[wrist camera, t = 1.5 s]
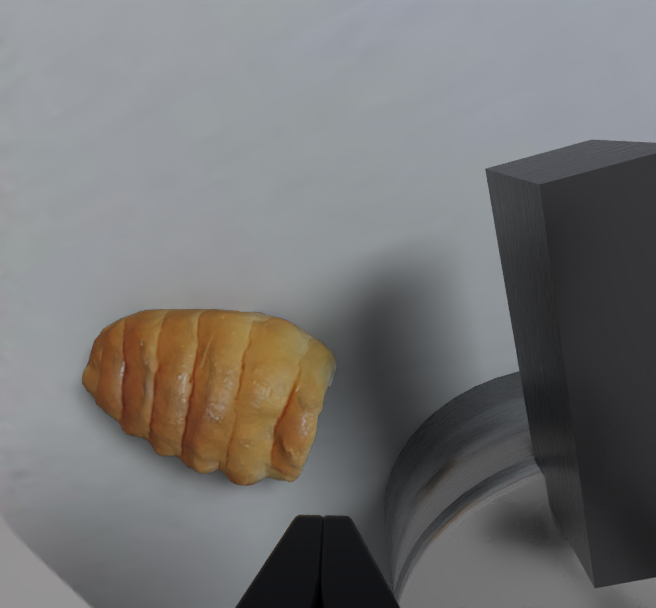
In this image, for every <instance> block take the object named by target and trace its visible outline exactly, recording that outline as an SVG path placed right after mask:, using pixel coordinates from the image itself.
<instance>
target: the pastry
mask: <svg viewBox="0 0 656 608" xmlns="http://www.w3.org/2000/svg"><path fill="white" fill-rule="evenodd" d="M335 372H336V360H335V356H334V355H333V353H332V352H331V351H330V350H329V349H328V348H327V347H326V346H325V345H324V344H323V343H321V342H320V341H319V340H317V339H316V338H314V337H313V336H311V335H310V334H308V333H307V332H305V331H303V330H302V329H300V328H299V327H297V326H296V325H294V324H292V323H291V322H289V321H287V320H284V319H281V318H278V317H273V316H270V315H266V314H263V313H259V312H239V311H233V310H218V309H156V310H145V311H141V312H137V313H135V314H132V315H130V316H127V317H124V318H121V319H119V320H117V321H116V322H114V323H112V324H110V325H108V326H107V327H105V328H104V329H103V330H102V331H101V333H100V335H99V336H98V337H97V338H96V339H95V341H94V344H93V347H92V350H91V354H90V359H89V362H88V364H87V366H86V368H85V369H84V373H83V377H82V384H83V385H84V386H85V388H86V389H87V391H88V392H90V393H91V394H92V396H93V397H94V398H95V401H96V404H97V405H98V406H99V407H101V408H102V409H103V410H104V411H105V412H107V413H108V414H109V415H110V416H112V417H113V418H114V419H115V420H117V421H118V422H119V423H120V424H121V426H122V430H124V431H125V433H126V434H129V435H132V436H137V437H142V438H144V439H147V440H148V441H149V442H150V443H151V445H152V446H153V448H154V449H155V451H156V452H157V453H158V454H159V455H162V456H176V457H178V458H180V459H181V460H182V461H183V462H184V463H185V464H186V465H187V466H188V467H190V468H192V469H194V470H195V471H196V472H198V473H210V472H213V471H215V470H221V471H223V472H224V473H225V474H226V476H227V477H228V479H229V480H230V481H231V482H233V483H235V484H237V485H246V486H247V485H252V484H255V483H257V482H259V481H261V480H262V479H264V478H266V477H268V478H273V479H276V480H286V481H288V482H292V481H294V480H296V479H297V478H298V477H299V475H300V474H301V472H302V469H303V466H304V464H305V462H306V460H307V458H308V455H309V452H310V449H311V447H312V445H313V443H314V440H315V437H316V433H317V423H318V416H319V414H320V413H321V411H322V409H323V403H324V397H325V394H326V391H327V390H328V388H329V387H330V386H331V385H332V382H333V378H334V374H335Z"/></svg>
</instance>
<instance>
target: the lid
mask: <svg viewBox="0 0 656 608" xmlns="http://www.w3.org/2000/svg"><path fill="white" fill-rule="evenodd" d="M485 170H486V176H487V182H488V187H489V193H490V199H491V205H492V211H493V217H494V223H495V229H496V235H497V241H498V247H499V252H500V258H501V264H502V270H503V276H504V282H505V288H506V294H507V300H508V306H509V311H510V317H511V323H512V329H513V335H514V341H515V347H516V353H517V359H518V365H519V371H520V376H521V382H522V388H523V394H524V400H525V406H526V412H527V418H528V424H529V430H530V435H531V441H532V447H533V453H534V456H533V457H530V458H528V459H525V460H523V461H520V462H517V463H515V464H513V465H511V466H509V467H507V468H505V469H503V470H501V471H499V472H497V473H495V474H493V475H491V476H489V477H487V478H486V479H484V480H483V481H481V482H480V483H478V484H477V485H475V486H474V487H472V488H471V489H469V490H468V491H466V492H465V493H463V494H462V495H461V496H460V497H458V498H457V499H456V500H455V501H454V502H453V503H451V504H450V505H449V506H448V507H447V508H445V509H444V510H443V511H442V512H441V513H440V514H439V515H438V516H437V517H436V519H435V520H434V521H433V522H432V523H431V524H430V525H429V526H428V527H427V528H426V529H425V530H424V532H423V533H422V535H421V536H420V538H419V539H418V541H417V542H416V543H415V545H414V546H413V548H412V549H411V551H410V553H409V555H408V557H407V559H406V561H405V563H404V565H403V567H402V569H401V571H400V574H399V577H398V581H397V584H396V587H395V590H394V597H395V599H396V601H397V603H398V604H399V606H400V608H656V143H648V142H628V141H608V140H589V141H585V142H581V143H578V144H574V145H571V146H567V147H563V148H560V149H556V150H552V151H549V152H545V153H541V154H538V155H534V156H530V157H527V158H523V159H520V160H516V161H512V162H509V163H505V164H501V165H498V166H494V167H490V168H487V169H485Z"/></svg>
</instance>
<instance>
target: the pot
mask: <svg viewBox="0 0 656 608" xmlns="http://www.w3.org/2000/svg"><path fill="white" fill-rule="evenodd" d="M533 456H534V453H533V447H532V441H531V435H530V430H529V424H528V418H527V412H526V406H525V400H524V394H523V388H522V382H521V376H520V372H516V373H512V374H509V375H505V376H502V377H498V378H495V379H493V380H491V381H488V382H486V383H483V384H481V385H478V386H476V387H474V388H472V389H470V390H469V391H467V392H465V393H463V394H461V395H460V396H458V397H456V398H454V399H453V400H452V401H450V402H449V403H447V404H446V405H445V406H443V407H442V408H440V409H439V410H438V411H437V412H435V413H434V414H433V415H432V416H431V417H430V418H429V419H428V420H427V421H426V422H425V423H423V424H422V425H421V427H420V428H419V429H418V430H417V431H416V433H415V434H414V435H413V436H412V437H411V439H410V440H409V441H408V443H407V444H406V446H405V447H404V449H403V451H402V452H401V454H400V455H399V457H398V459H397V462H396V464H395V466H394V468H393V470H392V473H391V476H390V480H389V483H388V487H387V491H386V499H385V524H386V533H387V541H388V550H389V558H390V567H391V575H392V584H393V592H394V590H395V587H396V584H397V581H398V577H399V574H400V571H401V569H402V567H403V565H404V563H405V561H406V559H407V557H408V555H409V553H410V551H411V549H412V548H413V546H414V545H415V543H416V542H417V541H418V539H419V538H420V536H421V535H422V533H423V532H424V530H425V529H426V528H427V527H428V526H429V525H430V524H431V523H432V522H433V521H434V520H435V519H436V517H437V516H438V515H439V514H440V513H441V512H442V511H443V510H444V509H445V508H447V507H448V506H449V505H450V504H451V503H453V502H454V501H455V500H456V499H457V498H458V497H460V496H461V495H462V494H463V493H465V492H466V491H468V490H469V489H471V488H472V487H474V486H475V485H477V484H478V483H480V482H481V481H483V480H484V479H486V478H487V477H489V476H491V475H493V474H495V473H497V472H499V471H501V470H503V469H505V468H507V467H509V466H511V465H513V464H515V463H517V462H520V461H523V460H525V459H528V458H530V457H533Z"/></svg>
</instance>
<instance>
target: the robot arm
mask: <svg viewBox="0 0 656 608" xmlns="http://www.w3.org/2000/svg"><path fill="white" fill-rule="evenodd" d="M235 608H400V606H399V604H398V603H397V601H396V599H395V597H394V595H393V593H392V592H391V590H390V588H389V586H388V584H387V583H386V581H385V579H384V577H383V575H382V573H381V572H380V570H379V568H378V566H377V564H376V563H375V561H374V559H373V557H372V555H371V553H370V552H369V550H368V548H367V546H366V544H365V543H364V541H363V539H362V537H361V535H360V533H359V532H358V530H357V528H356V526H355V524H354V522H353V521H352V519H351V518H350V517H348V516H333V515H327V516H324V517H322V516H320V515H298V516H296V517H295V518H294V520H293V521H292V523H291V524H290V526H289V527H288V529H287V530H286V532H285V533H284V535H283V536H282V538H281V539H280V541H279V542H278V544H277V545H276V547H275V548H274V550H273V551H272V553H271V554H270V556H269V557H268V559H267V560H266V562H265V564H264V565H263V567H262V568H261V570H260V571H259V573H258V574H257V576H256V577H255V579H254V580H253V582H252V583H251V585H250V586H249V588H248V589H247V591H246V592H245V594H244V595H243V597H242V598H241V600H240V601H239V603H238V604H237V606H236V607H235Z"/></svg>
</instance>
